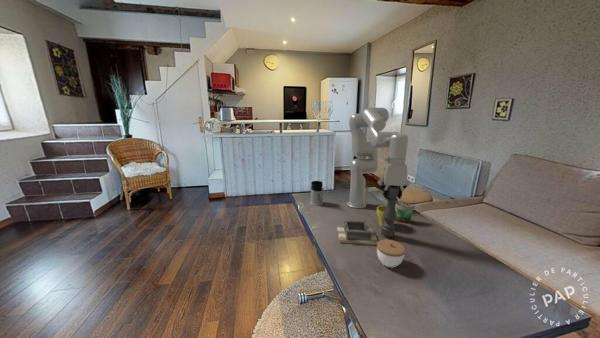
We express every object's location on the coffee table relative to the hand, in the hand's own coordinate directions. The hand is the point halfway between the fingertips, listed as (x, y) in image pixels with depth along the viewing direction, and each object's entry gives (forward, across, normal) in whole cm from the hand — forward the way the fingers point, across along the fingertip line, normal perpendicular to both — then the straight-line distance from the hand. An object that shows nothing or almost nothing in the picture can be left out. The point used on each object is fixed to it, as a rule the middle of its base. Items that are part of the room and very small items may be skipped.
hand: (392, 197), depth 109 cm
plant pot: (+21, +2, +11) cm, 24 cm away
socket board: (+21, -16, -2) cm, 26 cm away
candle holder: (+20, 0, 0) cm, 20 cm away
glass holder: (+22, -34, +38) cm, 56 cm away
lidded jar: (+21, -6, -22) cm, 31 cm away
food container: (+21, +13, +17) cm, 31 cm away
